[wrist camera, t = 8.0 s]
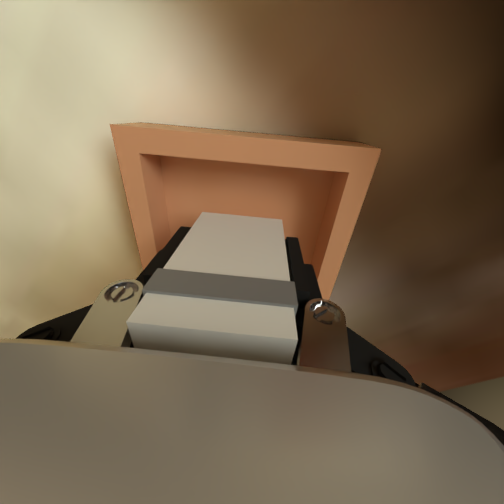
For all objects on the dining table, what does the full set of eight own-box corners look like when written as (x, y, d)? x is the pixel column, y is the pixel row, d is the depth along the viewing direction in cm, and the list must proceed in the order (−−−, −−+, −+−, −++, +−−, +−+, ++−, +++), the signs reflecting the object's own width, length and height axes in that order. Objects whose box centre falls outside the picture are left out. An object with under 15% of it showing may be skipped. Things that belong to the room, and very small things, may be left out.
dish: (359, 142, 11) (381, 149, 9) (311, 302, 17) (317, 330, 15) (141, 122, 11) (110, 124, 9) (168, 288, 17) (153, 313, 15)
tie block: (284, 217, 11) (302, 337, 5) (273, 283, 13) (277, 421, 7) (200, 209, 11) (120, 318, 5) (203, 276, 13) (150, 407, 7)
